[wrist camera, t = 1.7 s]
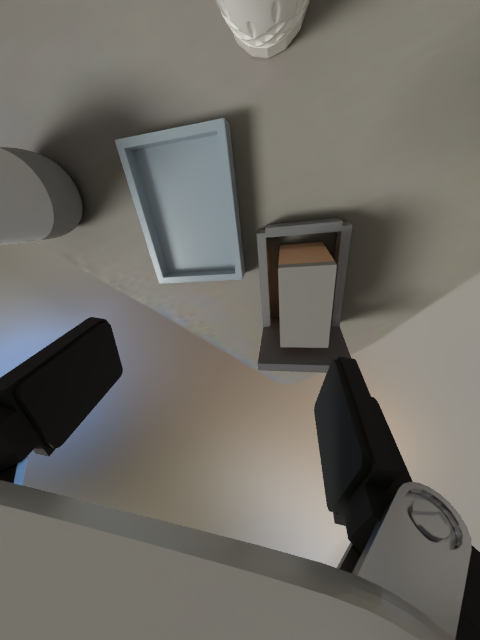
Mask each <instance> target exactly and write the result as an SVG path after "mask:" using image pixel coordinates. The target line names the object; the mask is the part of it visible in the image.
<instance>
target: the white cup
mask: <svg viewBox="0 0 480 640" xmlns="http://www.w3.org/2000/svg"><path fill="white" fill-rule="evenodd" d="M215 1H216V3H217V5H218V7H219V9H220V11H221V13H222V15H223V17H224V19H225V21H226V23H227V24H228V26H229V27H230V29H231V30H232V32H233V34H234V37H235V39H236V41H237V43H238V45H240V46H241V47H242V48H243V49H244V50H245V51H246V52H247V53H248V54H249V55H250V56H252V57H259V58H267V59H269V58H271V57H273V56H274V55H276V54H278V53H280V52H282V51H284V50H285V49H286V48H287V47H288V46H289V44H290V43H291V41H292V40H293V39H294V37H295V36H296V35H297V33H298V32H299V31H300V29H301V26H302V23H303V20H304V17H305V14H306V11H307V8H308V5H309V2H310V0H215Z"/></svg>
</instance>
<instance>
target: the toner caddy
mask: <svg viewBox="0 0 480 640" xmlns="http://www.w3.org/2000/svg"><path fill="white" fill-rule="evenodd" d="M336 268H337V264H336V263H335V261H334V259H333V258H332V256H331V255H330V253H329V251H328V250H327V248H326V247H325V245H324V244H323V242H313V243H300V244H287V245H280V251H279V262H278V284H279V317H280V347H302V348H328V345H329V336H330V326H331V316H332V307H333V297H334V287H335V278H336Z"/></svg>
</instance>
